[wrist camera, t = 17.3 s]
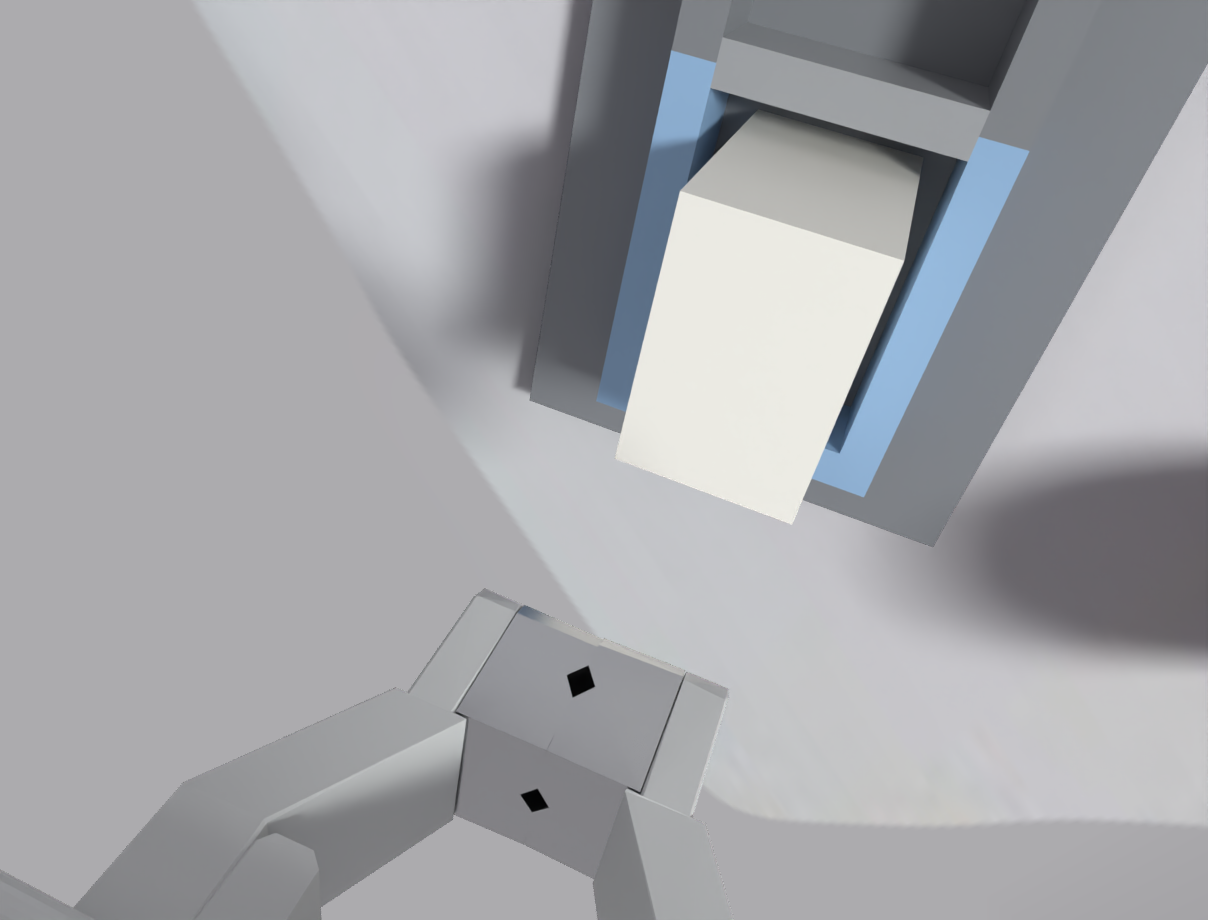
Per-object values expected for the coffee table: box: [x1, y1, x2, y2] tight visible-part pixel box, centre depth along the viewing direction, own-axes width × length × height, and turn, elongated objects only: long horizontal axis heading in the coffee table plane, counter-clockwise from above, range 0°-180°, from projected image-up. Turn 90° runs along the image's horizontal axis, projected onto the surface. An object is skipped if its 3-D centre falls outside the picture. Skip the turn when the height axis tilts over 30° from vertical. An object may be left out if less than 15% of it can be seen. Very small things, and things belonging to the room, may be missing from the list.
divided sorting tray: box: [530, 0, 1208, 547], centre depth 19 cm, size 23×13×4 cm, turn 168°
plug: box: [615, 110, 923, 524], centre depth 19 cm, size 6×4×7 cm, turn 168°
